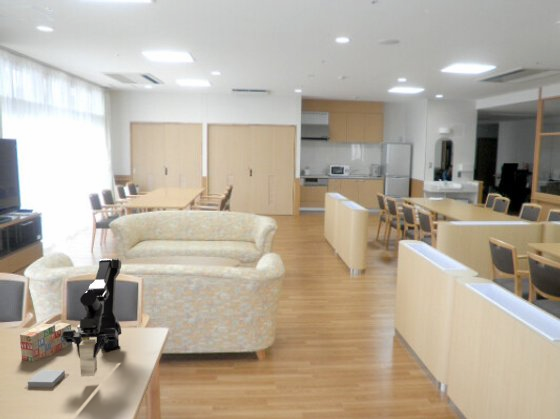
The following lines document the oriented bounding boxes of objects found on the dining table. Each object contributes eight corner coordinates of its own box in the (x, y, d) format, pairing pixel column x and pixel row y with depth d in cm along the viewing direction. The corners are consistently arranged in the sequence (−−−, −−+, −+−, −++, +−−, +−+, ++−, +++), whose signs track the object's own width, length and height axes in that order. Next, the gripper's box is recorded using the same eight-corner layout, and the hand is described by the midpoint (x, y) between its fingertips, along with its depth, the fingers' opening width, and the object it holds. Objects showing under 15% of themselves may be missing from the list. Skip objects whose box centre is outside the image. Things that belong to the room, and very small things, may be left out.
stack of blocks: (61, 342, 212) (59, 315, 211) (72, 343, 210) (70, 317, 209) (21, 362, 192) (19, 333, 191) (33, 365, 190) (31, 335, 189)
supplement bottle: (76, 344, 209) (75, 324, 208) (89, 342, 211) (88, 322, 210) (77, 349, 204) (75, 328, 203) (90, 347, 207) (89, 326, 205)
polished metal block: (84, 370, 175) (82, 339, 173) (97, 370, 175) (95, 339, 174) (81, 376, 170) (79, 344, 169) (94, 375, 171) (92, 344, 169)
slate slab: (41, 374, 179) (41, 369, 179) (64, 375, 179) (64, 370, 179) (28, 386, 170) (27, 381, 170) (52, 387, 170) (52, 382, 170)
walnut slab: (41, 378, 181) (41, 373, 180) (69, 378, 180) (69, 373, 180) (24, 393, 170) (24, 388, 170) (54, 394, 169) (54, 388, 169)
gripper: (61, 309, 172) (53, 351, 163) (115, 307, 175) (109, 348, 165) (69, 321, 181) (62, 362, 172) (120, 319, 183) (115, 359, 174)
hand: (87, 357), depth 170 cm, fingers closed on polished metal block, 4 cm apart
